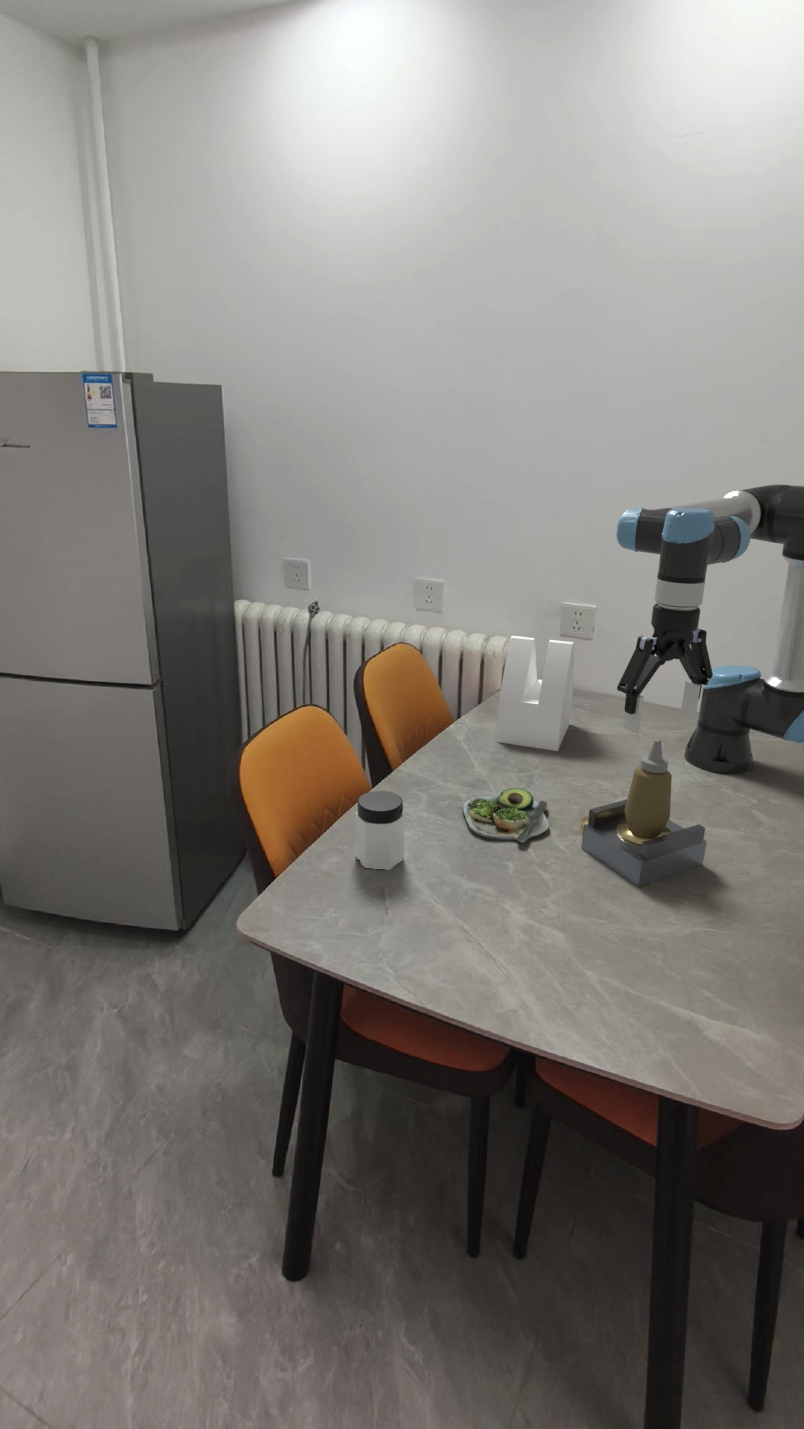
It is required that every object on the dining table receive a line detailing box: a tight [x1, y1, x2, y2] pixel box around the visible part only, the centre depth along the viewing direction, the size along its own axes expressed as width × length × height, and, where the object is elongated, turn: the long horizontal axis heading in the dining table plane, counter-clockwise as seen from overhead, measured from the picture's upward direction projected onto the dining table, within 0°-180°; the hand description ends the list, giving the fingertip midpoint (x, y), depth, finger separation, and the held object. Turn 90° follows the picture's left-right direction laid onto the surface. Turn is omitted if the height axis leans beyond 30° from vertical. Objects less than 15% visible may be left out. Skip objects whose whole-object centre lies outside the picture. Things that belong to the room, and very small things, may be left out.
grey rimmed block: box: [580, 798, 707, 888], centre depth 147 cm, size 16×15×8 cm
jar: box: [354, 790, 406, 871], centre depth 144 cm, size 9×8×12 cm
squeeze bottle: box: [624, 739, 673, 837], centre depth 144 cm, size 8×8×18 cm
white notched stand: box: [495, 635, 575, 752], centre depth 201 cm, size 19×15×25 cm
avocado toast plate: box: [462, 787, 550, 844], centre depth 159 cm, size 19×18×5 cm
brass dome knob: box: [579, 815, 589, 835], centre depth 157 cm, size 6×6×2 cm
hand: (660, 723), depth 139 cm, fingers open, 13 cm apart
